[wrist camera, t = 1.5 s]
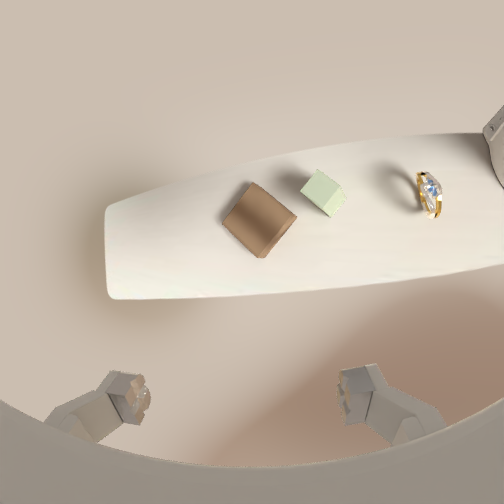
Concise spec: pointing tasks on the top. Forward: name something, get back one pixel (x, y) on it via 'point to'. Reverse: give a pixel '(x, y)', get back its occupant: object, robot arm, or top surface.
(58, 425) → the robot arm
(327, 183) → the block
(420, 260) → the top surface
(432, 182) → the ring
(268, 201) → the plinth
